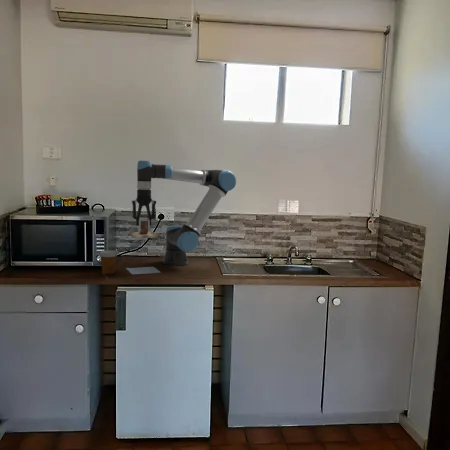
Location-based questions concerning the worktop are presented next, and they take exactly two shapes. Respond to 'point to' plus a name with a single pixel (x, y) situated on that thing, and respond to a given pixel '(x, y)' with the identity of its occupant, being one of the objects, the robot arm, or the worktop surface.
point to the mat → (143, 270)
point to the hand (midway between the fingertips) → (143, 231)
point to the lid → (143, 232)
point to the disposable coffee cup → (108, 261)
